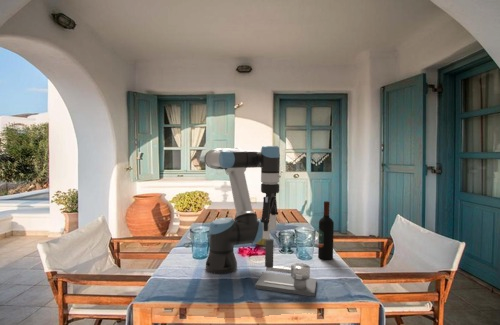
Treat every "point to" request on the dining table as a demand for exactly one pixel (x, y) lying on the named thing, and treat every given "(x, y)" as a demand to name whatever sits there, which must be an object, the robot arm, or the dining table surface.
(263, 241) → the plant pot
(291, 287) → the base plate
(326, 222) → the wine bottle
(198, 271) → the dining table surface
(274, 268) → the grey lever handle
